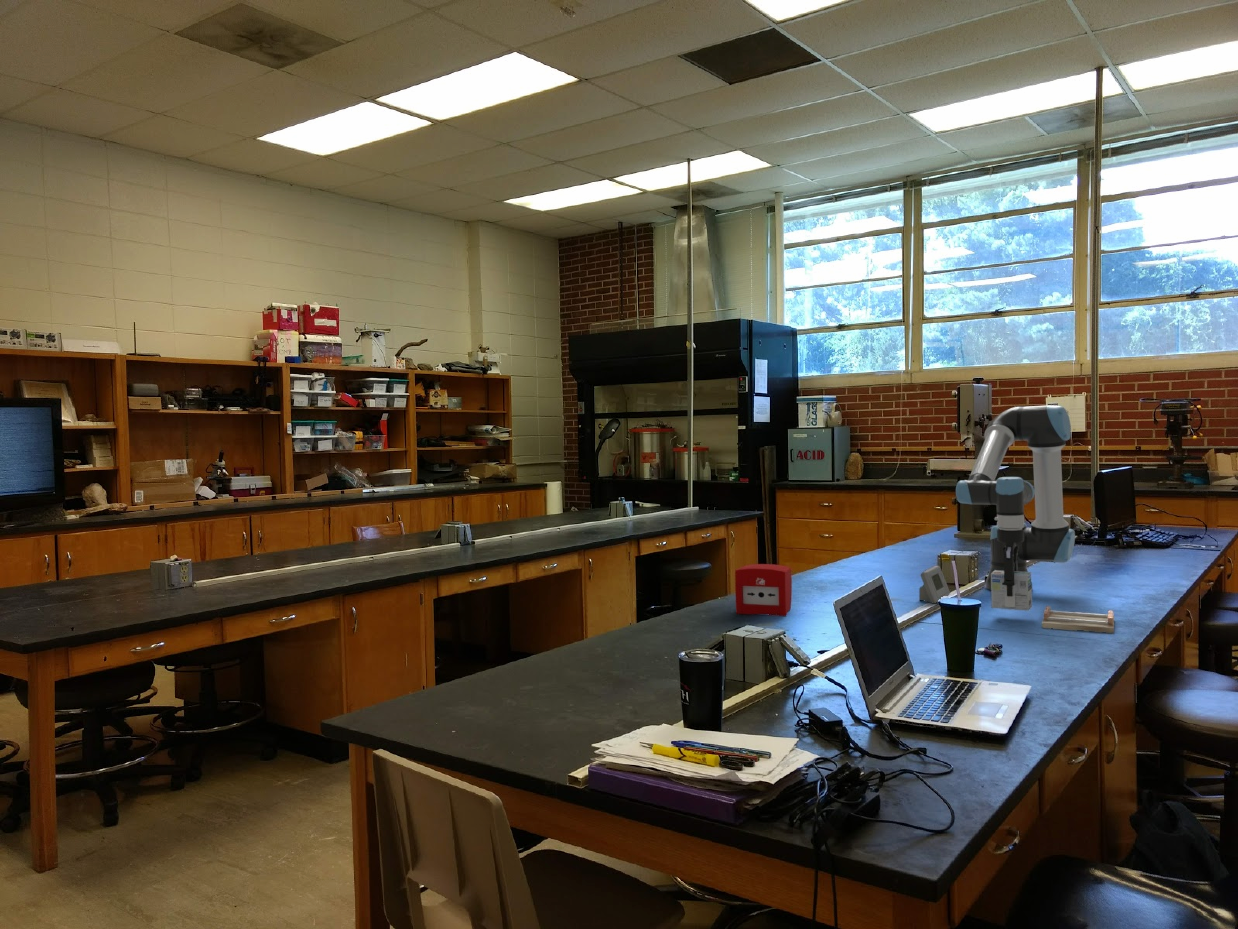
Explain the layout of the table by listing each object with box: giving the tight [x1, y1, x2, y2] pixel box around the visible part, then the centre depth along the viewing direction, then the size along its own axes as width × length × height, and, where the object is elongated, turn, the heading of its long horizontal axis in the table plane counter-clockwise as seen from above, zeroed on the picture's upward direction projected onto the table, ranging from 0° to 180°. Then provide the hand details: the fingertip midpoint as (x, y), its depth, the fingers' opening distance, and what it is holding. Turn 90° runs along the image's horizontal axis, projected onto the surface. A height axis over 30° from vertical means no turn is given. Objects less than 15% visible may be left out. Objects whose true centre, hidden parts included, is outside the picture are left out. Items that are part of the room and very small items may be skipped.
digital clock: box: [918, 565, 951, 604], centre depth 297 cm, size 16×9×11 cm, turn 133°
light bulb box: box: [990, 570, 1033, 612], centre depth 266 cm, size 11×7×11 cm, turn 58°
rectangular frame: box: [1043, 605, 1114, 625], centre depth 257 cm, size 11×18×2 cm, turn 60°
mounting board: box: [1041, 614, 1115, 634], centre depth 257 cm, size 18×18×2 cm
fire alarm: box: [734, 563, 793, 617], centre depth 286 cm, size 16×11×15 cm
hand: (1011, 603), depth 266 cm, fingers closed on light bulb box, 7 cm apart
